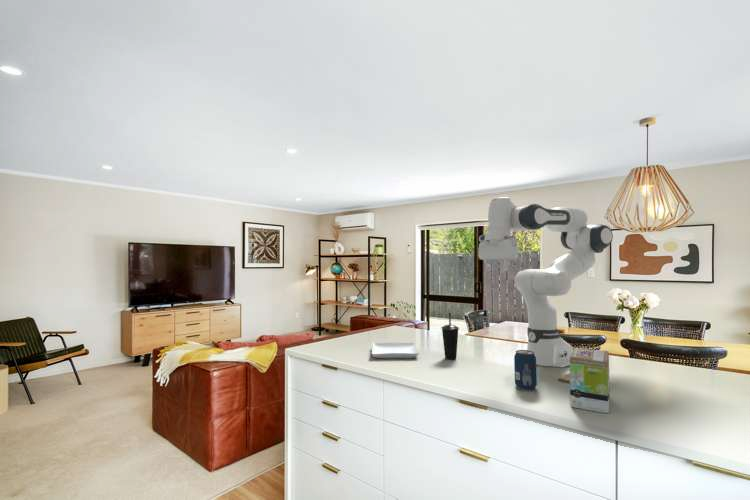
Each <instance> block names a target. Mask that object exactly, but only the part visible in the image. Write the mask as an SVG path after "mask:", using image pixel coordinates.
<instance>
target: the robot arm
mask: <svg viewBox="0 0 750 500" xmlns="http://www.w3.org/2000/svg"><path fill="white" fill-rule="evenodd" d="M487 220H488V226H487V229H486V232H485V233H483V234H482V235H480V236H479V237H478V241H479V242H480V243H479V245H478V253H477V254H478V259H479V260H481V261H482V260H484V265H485V266H486V268H485V271H488V272H490V271H492V270H493V266H491V262H492V261H496V260H499V261H502V260H503V262H504V263H503V265H502V266H501V272H508V270H509V269H508V268H509V266H510V264H511V260H517V259H518V257H519V245H518V244H519V243H518V238H517V237H516V236H515V235H511V232H524V231H531V230H532V231H535V230H536V231H537V230H540V229H542V228H544V227H545V226H546V228H547V229H548V230H550V231H551V232H558V233H560V242H561V244H562V246H563V247H564V248H565V249H567V250H570V251H568V252H567V253H565V254H563V255H560V256H559V257H557V258H555V259H553V260H552V261H551V263H550V265H549V267H547V268H527V269H523V270H520V271H518V272H517V273H516V275H515V276H514V285H515V288H516V289H517V290H518V291H519V292H520V293H521V295H522V297H523V299H524V302H525V304H526V305H525V306H526V309H527V323H528V326H527V329H526V332H527V338H528V339H527V349H526V350H529V351H533V352H534V355H535V357H536V366H544V367H555V368H564V367H568V366H570V356H571V354H572V352H573V349H574V347H573V346H572V345H571V344H570V343H568V342H567V341H566V340H564V339H563V338H562V337H561V335H565V334H566V330H565V329H562V328H559V329H558V318H557V310H556V308H555V307H554V306H553V305H552V304H551V302H550V301H549V299H548V297H559V296H564V295H566V294H568V293H569V291H570V290H571V288H572V281H573V280H575V279H577V278H578V277H580V276H582V275H583V274H585V273H587V271H588V270H590V269H591V268H592V267H593V266H594V265H595V263H596V256H595V254H596V253H597V254H600V253H602V252H604V250H605V249H607V248H608V247H609V246H610V245H611V243H612V242H613V238H614V235H613V231H612V230H611V228H610V226H607V224H606V225H605V224H599V223H598V224H588V223H587V222H588V215H587V213H586V212H585V211H584V210H583V209H580V208H577V207H572V206H558V207H557V206H555V207H552V208H546V207H543V205H541V204H538V203H532V204H528V205H524V206H519V207H518V206H517V205H516V204H514V203H513V202H512V200H511V198H510V197H508V196H501V197H496V198H493V199H492V200H491V201H490V202H489V206H488V215H487Z"/></svg>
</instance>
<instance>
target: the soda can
mask: <svg viewBox="0 0 750 500" xmlns="http://www.w3.org/2000/svg"><path fill="white" fill-rule="evenodd" d="M513 361H514V362H513V364H514V365H513V366H514V367H513V368H514V385H515V386H516V387H517V388H516V389H519V390H522V391H533V390H535V389H536V387H537V386H538V379H537V376H538V375H537V372H538V371H537V365H536V357H535V355H534V352H533V351H529V350H527V349H518V350H516V351H515V354H514V356H513Z"/></svg>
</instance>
